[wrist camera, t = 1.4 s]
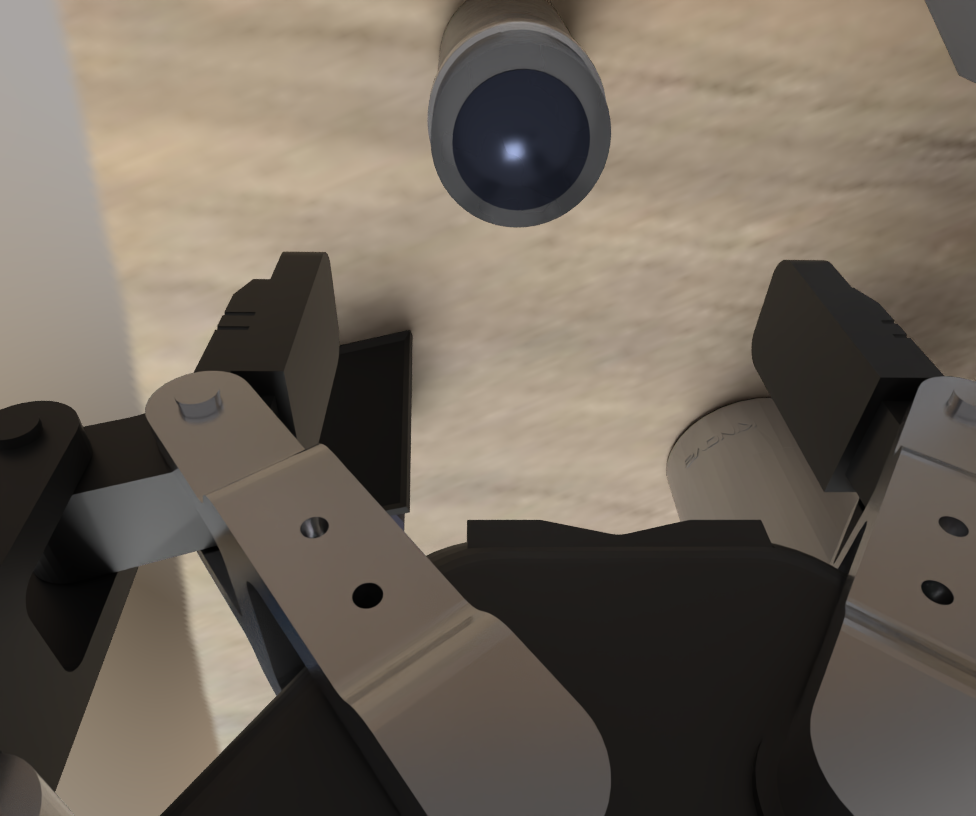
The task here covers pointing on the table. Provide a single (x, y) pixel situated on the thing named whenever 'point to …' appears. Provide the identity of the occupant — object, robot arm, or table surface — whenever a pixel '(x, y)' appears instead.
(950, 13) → the camera body
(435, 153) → the lens
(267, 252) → the table surface
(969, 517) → the robot arm
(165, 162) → the table surface
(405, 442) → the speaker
